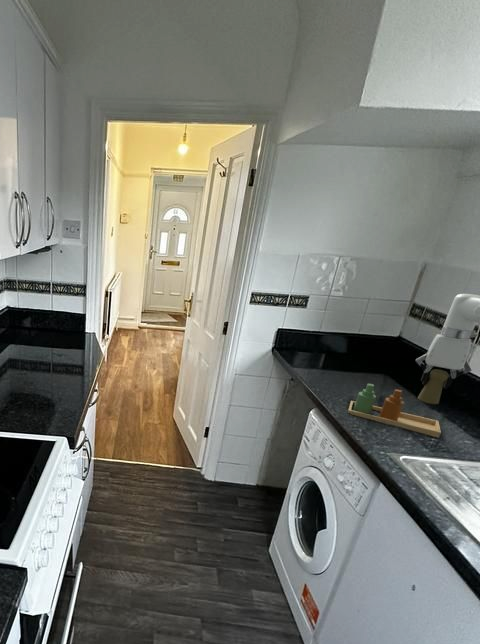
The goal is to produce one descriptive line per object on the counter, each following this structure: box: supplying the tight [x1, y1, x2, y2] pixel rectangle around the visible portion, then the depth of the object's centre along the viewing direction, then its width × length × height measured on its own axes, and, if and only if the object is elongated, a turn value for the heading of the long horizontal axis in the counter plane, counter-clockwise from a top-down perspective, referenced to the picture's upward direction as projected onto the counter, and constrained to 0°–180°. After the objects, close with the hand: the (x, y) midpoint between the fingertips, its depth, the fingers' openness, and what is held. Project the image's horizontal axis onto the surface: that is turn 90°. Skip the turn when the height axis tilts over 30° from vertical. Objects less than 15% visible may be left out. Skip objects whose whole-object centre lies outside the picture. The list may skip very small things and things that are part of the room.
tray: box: [347, 400, 442, 439], centre depth 151 cm, size 28×12×2 cm, turn 56°
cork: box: [417, 368, 450, 405], centre depth 141 cm, size 6×6×11 cm
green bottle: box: [352, 383, 377, 415], centre depth 153 cm, size 6×6×11 cm
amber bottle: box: [378, 389, 405, 421], centre depth 149 cm, size 6×6×11 cm
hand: (434, 385), depth 141 cm, fingers closed on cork, 5 cm apart
